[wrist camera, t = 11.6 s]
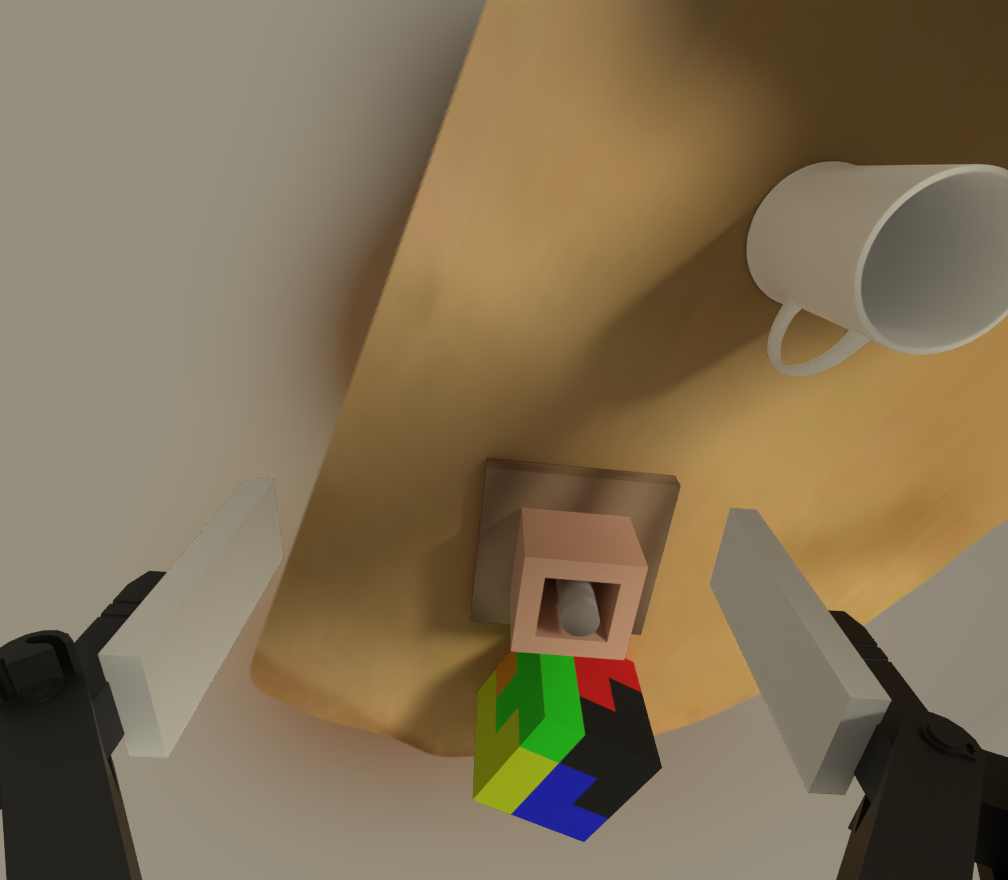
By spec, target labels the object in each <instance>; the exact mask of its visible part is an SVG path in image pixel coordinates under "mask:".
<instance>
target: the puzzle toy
mask: <svg viewBox="0 0 1008 880" xmlns="http://www.w3.org/2000/svg"><path fill="white" fill-rule="evenodd" d="M661 768H662V766H661V762H660V758H659V755H658V751H657V748H656V744H655V740H654V736H653V733H652V729H651V725H650V722H649V718H648V714H647V710H646V707H645V703H644V699H643V696H642V692H641V688H640V685H639V681H638V677H637V674H636V670H635V666H634V662H632V661H629V660H627V659H624V660H616V659H603V658H590V657H577V656H564V655H552V654H539V653H526V652H513V651H511V650H510V651H509V653H508V654H507V655H506V656H505V658H504V659H503V660H502V661H501V663H500V664H499V665H498V667H497V668H496V669H495V670H494V672H493V673H492V674H491V675H490V677H489V678H488V679H487V680H486V682H485V683H484V684H483V685H482V687H481V688H480V689H479V690H478V692H477V713H476V736H475V760H474V781H473V800H474V801H477V802H480V803H482V804H485V805H488V806H490V807H493V808H495V809H498V810H501V811H503V812H506V813H509V814H511V815H514V816H517V817H519V818H522V819H525V820H527V821H530V822H532V823H535V824H538V825H540V826H543V827H546V828H548V829H551V830H554V831H556V832H559V833H562V834H564V835H567V836H570V837H572V838H575V839H577V840H580V841H583V842H585V841H586V840H587V839H588V838H589V837H590V836H591V835H592V834H593V833H594V832H595V831H596V830H597V829H598V828H599V827H600V826H601V825H602V824H603V823H604V822H606V821H607V820H608V819H609V818H610V817H611V816H612V815H613V814H614V813H615V812H616V811H617V810H618V809H619V808H620V807H621V806H622V805H623V804H624V803H625V802H626V801H628V800H629V799H630V798H631V797H632V796H633V795H634V794H635V793H636V792H637V791H638V790H639V789H640V788H641V787H642V786H643V785H644V784H645V783H646V782H648V781H649V779H651V778H652V777H653V776H654V775H655V774H656V773H657V772H658V771H659V770H660V769H661Z"/></svg>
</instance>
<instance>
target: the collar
mask: <svg viewBox="0 0 1008 880" xmlns="http://www.w3.org/2000/svg"><path fill="white" fill-rule="evenodd" d="M647 570H648V565H647V562H646V560H645V557H644V554H643V552H642V549H641V546H640V544H639V541H638V538H637V536H636V533H635V530H634V528H633V525H632V522H631V520H630V517H623V516H612V515H601V514H590V513H578V512H567V511H556V510H545V509H534V508H523V507H522V509H521V517H520V524H519V531H518V538H517V545H516V552H515V559H514V567H513V574H512V581H511V588H510V636H511V651H513V652H526V653H539V654H552V655H564V656H577V657H590V658H603V659H616V660H624V659H625V656H626V652H627V648H628V644H629V640H630V636H631V632H632V629H633V625H634V621H635V617H636V613H637V609H638V605H639V601H640V598H641V594H642V590H643V586H644V582H645V578H646V574H647ZM545 578H555V579H567V580H578V581H590V582H595V585H594V586H593V590H594V595H595V599H596V604H597V609H598V613H599V618H600V624H599V627H598V628H597V630H596V631H594V632H593V633H592V634H590V635H587V636H582V637H577V636H573V635H570V634H568V633H567V632H566V631H565V630H564V629H563V627H562V622H561V615H560V607H559V600H558V593H557V585H556V583H553V582H544V581H545Z"/></svg>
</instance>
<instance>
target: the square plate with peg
mask: <svg viewBox="0 0 1008 880" xmlns="http://www.w3.org/2000/svg"><path fill="white" fill-rule="evenodd" d="M679 490H680V484H679V482H678V480H677V479H676V477H675V476H670V475H659V474H649V473H638V472H627V471H617V470H606V469H595V468H584V467H574V466H563V465H552V464H542V463H531V462H520V461H510V460H499V459H488V458H487V463H486V472H485V482H484V491H483V501H482V510H481V519H480V529H479V538H478V548H477V557H476V567H475V576H474V585H473V595H472V604H471V616H470V621H473V622H485V623H498V624H510V588H511V581H512V574H513V567H514V559H515V552H516V545H517V538H518V531H519V524H520V517H521V509H522V507H523V508H534V509H545V510H556V511H567V512H578V513H590V514H601V515H612V516H623V517H630V520H631V522H632V525H633V528H634V530H635V533H636V536H637V538H638V541H639V544H640V546H641V549H642V552H643V554H644V557H645V560H646V562H647V565H648V570H647V574H646V578H645V582H644V586H643V590H642V594H641V598H640V601H639V605H638V609H637V613H636V617H635V621H634V625H633V629H632V632H631V634H636V635H641V632H642V629H643V625H644V621H645V617H646V614H647V610H648V606H649V602H650V599H651V595H652V591H653V588H654V584H655V580H656V576H657V573H658V569H659V565H660V561H661V558H662V554H663V550H664V546H665V543H666V539H667V535H668V531H669V528H670V524H671V520H672V516H673V513H674V509H675V505H676V501H677V498H678V494H679ZM544 582H553V583H556V585H557V593H558V600H559V607H560V615H561V622H562V627H563V629H564V630H565V631H566V632H567V633H568V634H570V635H573V636H577V637H582V636H587V635H590V634H592V633H593V632H594V631H596V630H597V628H598V627H599V624H600V618H599V613H598V609H597V604H596V599H595V595H594V590H593V586H594V585H595V582H590V581H578V580H567V579H555V578H545V581H544Z"/></svg>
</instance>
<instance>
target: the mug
mask: <svg viewBox="0 0 1008 880" xmlns="http://www.w3.org/2000/svg"><path fill="white" fill-rule="evenodd" d="M746 253H747V262H748V267H749V270H750V273H751V275H752V277H753V279H754V281H755V283H756V284H757V286H758V287H759V288H760V289H761V290H762V291H763V292H764V293H765V294H766V295H767V296H768V297H770V298H771V299H773V300H775V301H777V302H779V303H781V304H783V305H782V307H781V309H780V311H779V313H778V314H777V316H776V318H775V320H774V322H773V325H772V327H771V330H770V333H769V337H768V342H767V354H768V358H769V360H770V362H771V364H772V365H773V366H774V367H775V368H776V369H777V370H778V371H780V372H781V373H783V374H785V375H788V376H793V377H804V376H810V375H814V374H817V373H820V372H822V371H825V370H827V369H829V368H831V367H833V366H835V365H837V364H838V363H840V362H842V361H843V360H845V359H846V358H848V357H849V356H850V355H852V354H853V353H854V352H856V351H857V350H858V349H860V348H861V347H862V346H864V345H865V344H867V343H869V342H871V340H872V341H874V342H876V343H878V344H881V345H883V346H885V347H887V348H890V349H892V350H895V351H898V352H902V353H907V354H918V355H923V354H934V353H940V352H944V351H948V350H952V349H955V348H957V347H960V346H962V345H965V344H967V343H969V342H971V341H973V340H975V339H976V338H978V337H980V336H981V335H983V334H985V333H986V332H988V331H989V330H990V329H992V328H993V327H994V326H995V325H997V324H998V323H999V322H1000V321H1001V320H1002V319H1004V318H1005V317H1006V316H1007V315H1008V170H1007V169H1004V168H1001V167H997V166H993V165H984V164H944V165H871V166H856V165H853V164H850V163H846V162H838V161H828V162H820V163H816V164H812V165H809V166H806V167H804V168H801V169H799V170H797V171H795V172H794V173H792V174H790V175H789V176H787V177H786V178H785V179H783V180H782V181H781V182H780V183H778V184H777V185H776V186H775V187H774V188H773V189H772V190H771V191H770V192H769V194H768V195H767V196H766V197H765V199H764V200H763V201H762V203H761V204H760V206H759V208H758V209H757V211H756V213H755V215H754V217H753V220H752V222H751V225H750V229H749V232H748V237H747V247H746ZM801 309H804V310H806V311H809V312H811V313H813V314H815V315H817V316H819V317H822V318H824V319H826V320H828V321H830V322H833V323H835V324H837V325H839V326H841V327H843V328H846V329H848V331H847V333H846V334H845V335H844V336H843V337H842V338H841V340H840V341H838V342H837V343H836V344H835V345H834V346H833V347H831V348H830V349H829V350H827V351H826V352H824V353H823V354H821V355H820V356H818V357H816V358H814V359H812V360H810V361H808V362H805V363H802V364H798V365H785V364H784V363H783V362H782V359H781V355H780V349H781V343H782V340H783V337H784V334H785V332H786V329H787V327H788V326H789V324H790V322H791V320H792V319H793V318H794V316H795V315H796V314H797V313H798V312H799V311H800V310H801Z"/></svg>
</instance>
